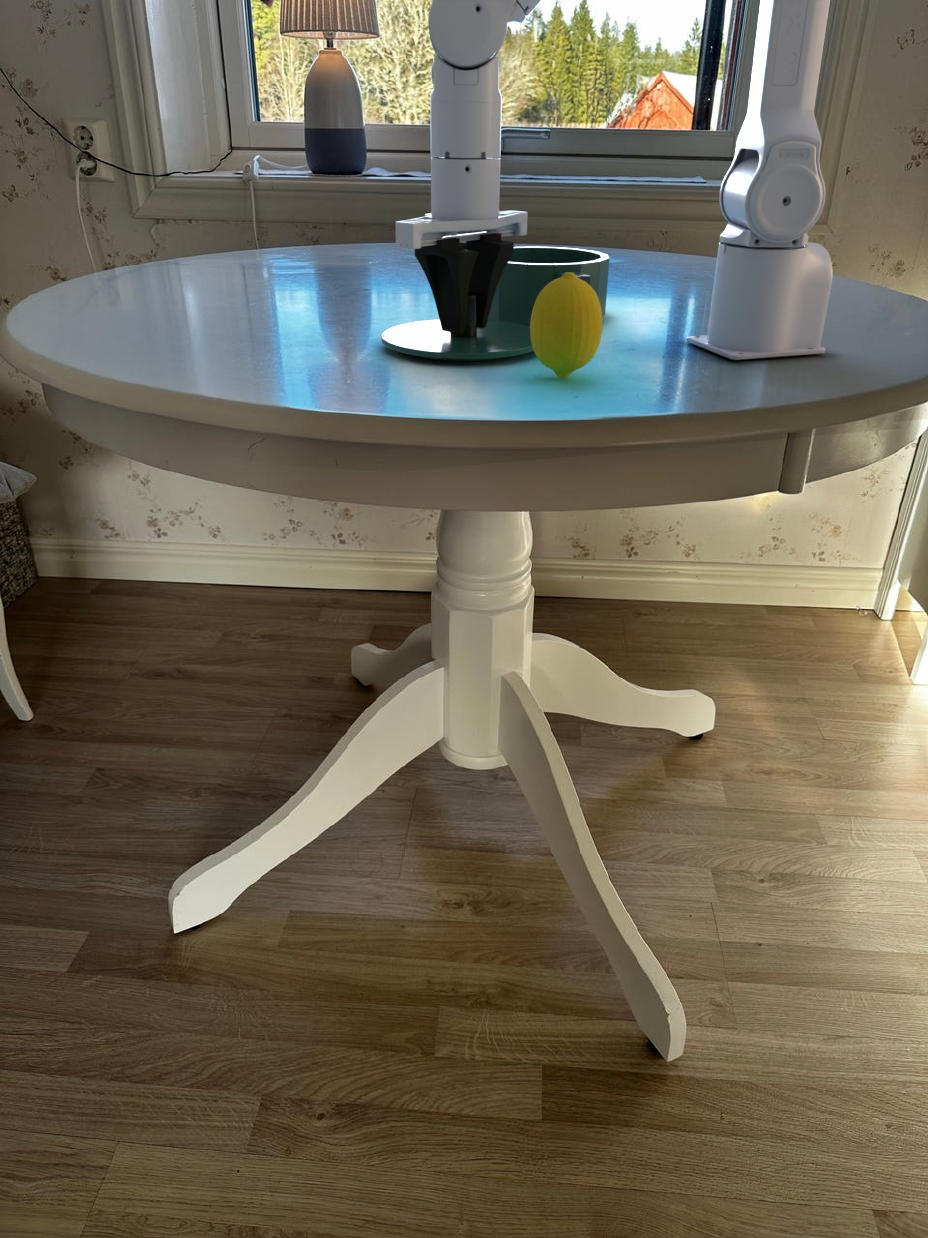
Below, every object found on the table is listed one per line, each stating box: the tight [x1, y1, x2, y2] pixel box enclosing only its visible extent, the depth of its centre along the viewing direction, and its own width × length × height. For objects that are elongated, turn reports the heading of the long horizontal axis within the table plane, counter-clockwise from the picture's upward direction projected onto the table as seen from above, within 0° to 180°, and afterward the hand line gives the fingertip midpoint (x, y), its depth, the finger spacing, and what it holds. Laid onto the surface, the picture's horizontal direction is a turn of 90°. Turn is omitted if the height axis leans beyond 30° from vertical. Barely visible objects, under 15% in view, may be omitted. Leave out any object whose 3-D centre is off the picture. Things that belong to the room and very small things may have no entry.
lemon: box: [530, 272, 603, 380], centre depth 71 cm, size 6×6×8 cm
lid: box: [381, 292, 534, 362], centre depth 82 cm, size 15×15×5 cm
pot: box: [488, 246, 610, 327], centre depth 94 cm, size 14×19×6 cm
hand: (464, 328), depth 82 cm, fingers closed on lid, 2 cm apart
